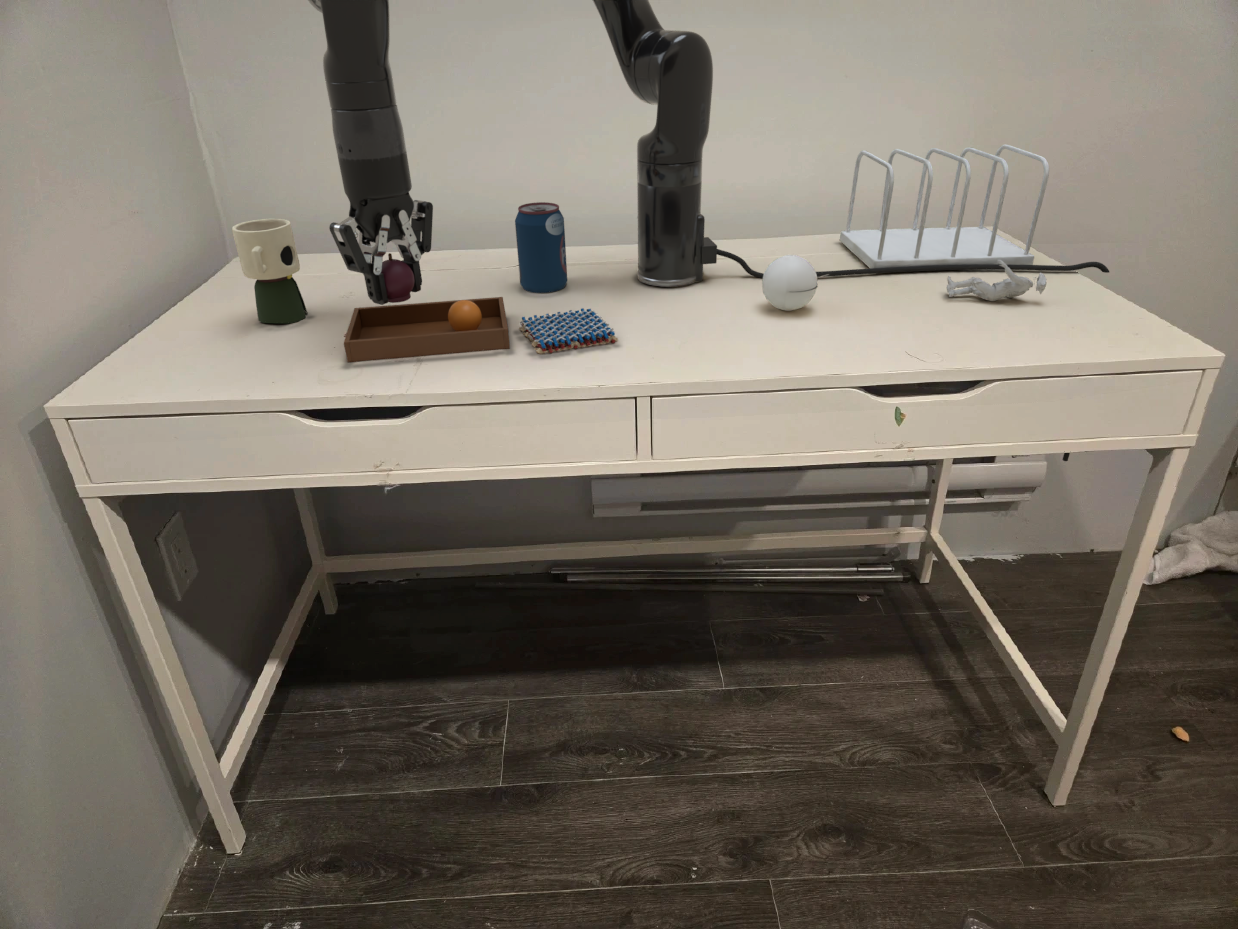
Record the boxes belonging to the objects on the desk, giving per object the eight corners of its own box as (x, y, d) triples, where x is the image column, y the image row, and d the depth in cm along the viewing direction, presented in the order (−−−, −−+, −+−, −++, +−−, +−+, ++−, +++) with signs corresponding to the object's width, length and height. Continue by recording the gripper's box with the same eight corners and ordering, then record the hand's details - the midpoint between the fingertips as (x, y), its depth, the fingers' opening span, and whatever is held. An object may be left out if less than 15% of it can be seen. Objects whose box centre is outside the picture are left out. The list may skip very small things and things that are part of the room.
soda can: (576, 291, 119) (571, 207, 112) (533, 300, 116) (526, 215, 109) (554, 279, 124) (549, 198, 118) (513, 287, 121) (505, 205, 115)
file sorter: (872, 273, 123) (887, 165, 115) (838, 242, 138) (849, 145, 130) (1033, 266, 124) (1059, 159, 116) (981, 237, 139) (1001, 140, 131)
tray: (504, 318, 109) (502, 296, 108) (510, 352, 99) (507, 328, 98) (358, 330, 107) (354, 307, 105) (348, 366, 96) (343, 342, 95)
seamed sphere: (773, 321, 107) (777, 266, 103) (751, 303, 113) (755, 250, 109) (842, 313, 109) (849, 259, 105) (818, 296, 115) (823, 244, 111)
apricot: (482, 325, 106) (479, 294, 104) (483, 337, 102) (480, 305, 100) (450, 328, 105) (446, 296, 103) (450, 339, 102) (445, 307, 100)
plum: (418, 290, 102) (411, 246, 99) (416, 303, 98) (409, 257, 95) (379, 293, 101) (370, 249, 98) (375, 306, 97) (367, 260, 94)
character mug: (303, 334, 106) (280, 234, 99) (246, 337, 105) (219, 237, 99) (318, 306, 115) (298, 213, 109) (267, 309, 115) (243, 215, 108)
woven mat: (592, 319, 109) (592, 304, 108) (620, 347, 100) (620, 331, 99) (517, 330, 106) (515, 315, 105) (538, 360, 97) (537, 344, 96)
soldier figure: (944, 295, 117) (1034, 271, 114) (953, 325, 115) (1044, 301, 112) (946, 269, 110) (1042, 243, 106) (956, 301, 108) (1053, 275, 105)
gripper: (341, 164, 84) (371, 320, 93) (441, 142, 94) (460, 285, 103) (296, 158, 88) (330, 308, 96) (397, 137, 98) (419, 276, 106)
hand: (397, 296), depth 99 cm, fingers closed on plum, 4 cm apart
